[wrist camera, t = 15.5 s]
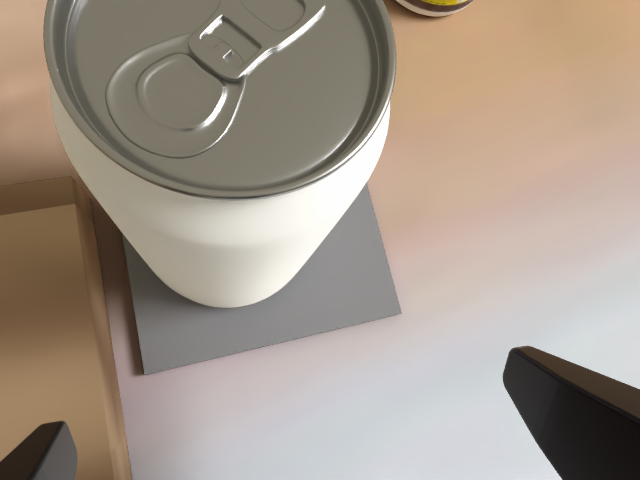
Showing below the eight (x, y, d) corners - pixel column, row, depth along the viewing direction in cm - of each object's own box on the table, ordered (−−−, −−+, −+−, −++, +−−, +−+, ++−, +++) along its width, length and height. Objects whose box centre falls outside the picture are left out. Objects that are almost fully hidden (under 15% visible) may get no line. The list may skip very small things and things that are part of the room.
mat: (398, 314, 20) (401, 313, 20) (146, 374, 18) (144, 374, 18) (340, 96, 22) (342, 91, 22) (105, 125, 20) (103, 120, 20)
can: (104, 237, 18) (-95, 33, 7) (218, 121, 20) (208, -188, 9) (239, 345, 18) (261, 317, 7) (340, 218, 20) (487, 33, 9)
